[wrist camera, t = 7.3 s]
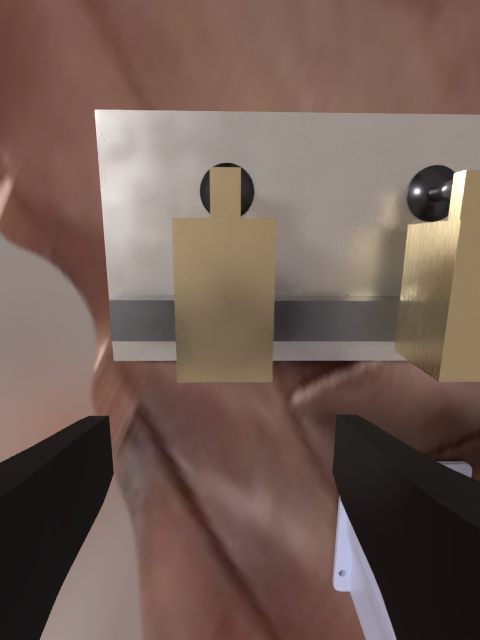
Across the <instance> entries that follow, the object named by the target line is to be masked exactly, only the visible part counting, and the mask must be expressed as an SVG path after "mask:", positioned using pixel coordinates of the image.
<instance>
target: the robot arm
mask: <svg viewBox="0 0 480 640" xmlns="http://www.w3.org/2000/svg"><path fill="white" fill-rule="evenodd" d="M113 474H114V472H113V459H112V447H111V435H110V423H109V416H88V417H86V418H84V419H81V420H79V421H77V422H75V423H74V424H72V425H70V426H68V427H66V428H64V429H63V430H61V431H59V432H57V433H55V434H54V435H52V436H50V437H48V438H47V439H45V440H43V441H41V442H39V443H38V444H36V445H34V446H32V447H30V448H28V449H26V450H24V451H22V452H20V453H18V454H16V455H15V456H12V457H10V458H9V459H7V460H5V461H3V462H1V463H0V640H40V637H41V634H42V632H43V630H44V627H45V625H46V622H47V620H48V617H49V615H50V612H51V610H52V607H53V605H54V602H55V600H56V597H57V595H58V593H59V591H60V589H61V586H62V584H63V582H64V580H65V578H66V576H67V574H68V572H69V570H70V568H71V566H72V564H73V562H74V560H75V558H76V556H77V554H78V552H79V550H80V548H81V547H82V544H83V542H84V541H85V539H86V537H87V535H88V533H89V531H90V529H91V527H92V525H93V523H94V521H95V519H96V517H97V515H98V513H99V511H100V509H101V507H102V505H103V502H104V500H105V497H106V494H107V492H108V489H109V486H110V483H111V480H112V477H113ZM333 475H334V479H335V482H336V486H337V489H338V493H339V505H338V518H337V531H336V544H335V556H334V569H333V585H334V588H335V589H336V590H337V591H350V593H351V596H352V599H353V602H354V605H355V608H356V611H357V614H358V617H359V620H360V623H361V626H362V629H363V632H364V635H365V638H366V640H480V481H477V480H475V479H473V478H471V476H472V467H471V466H470V465H469V464H468V463H466V462H464V461H435V460H433V459H431V458H430V457H428V456H426V455H424V454H422V453H420V452H418V451H417V450H415V449H413V448H411V447H410V446H408V445H406V444H405V443H403V442H401V441H400V440H398V439H396V438H395V437H393V436H391V435H390V434H388V433H386V432H385V431H383V430H382V429H380V428H378V427H377V426H375V425H373V424H372V423H370V422H368V421H367V420H365V419H363V418H361V417H359V416H357V415H337V417H336V431H335V445H334V459H333ZM341 570H343V571H341Z"/></svg>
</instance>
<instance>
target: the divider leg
mask: <svg viewBox="0 0 480 640" xmlns="http://www.w3.org/2000/svg"><path fill="white" fill-rule="evenodd" d="M276 225H277V218H241V167H210V218H172V246H173V275H174V303H175V331H176V359H177V382H272V369H273V333H274V297H275V261H276Z"/></svg>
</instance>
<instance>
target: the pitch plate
mask: <svg viewBox="0 0 480 640" xmlns="http://www.w3.org/2000/svg"><path fill="white" fill-rule="evenodd" d="M95 120H96V133H97V146H98V159H99V172H100V185H101V198H102V211H103V225H104V238H105V251H106V264H107V277H108V290H109V310H110V324H111V337H112V342H113V355H114V361H177V359H176V331H175V303H174V275H173V246H172V218H210V167H241V218H277V225H276V261H275V297H274V333H273V361H409V362H411V363H412V364H414V365H415V366H417V367H418V368H419V369H421V370H422V371H424V372H425V373H427V374H428V375H430V376H431V377H433V378H434V379H435V380H437V381H438V382H480V115H449V114H375V113H301V112H227V111H153V110H95Z"/></svg>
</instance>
